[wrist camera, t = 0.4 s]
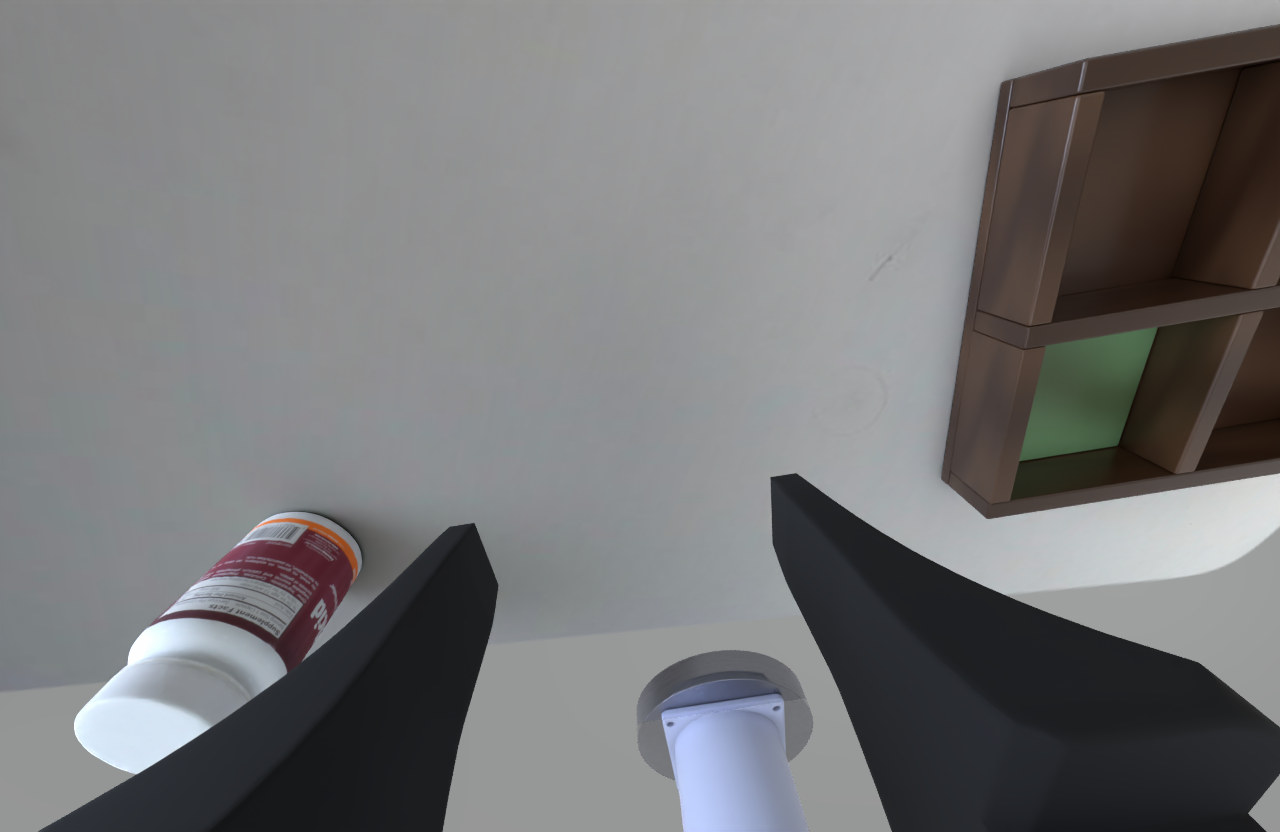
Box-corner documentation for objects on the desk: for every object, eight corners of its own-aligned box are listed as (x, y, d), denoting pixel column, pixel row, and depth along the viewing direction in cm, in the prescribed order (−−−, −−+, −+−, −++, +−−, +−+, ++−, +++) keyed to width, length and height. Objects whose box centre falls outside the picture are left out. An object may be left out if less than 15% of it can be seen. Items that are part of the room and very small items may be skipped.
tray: (1277, 425, 21) (1373, 459, 19) (940, 479, 22) (986, 520, 19) (1494, -6, 15) (1694, -51, 12) (1000, 82, 15) (1085, 58, 12)
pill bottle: (340, 602, 23) (207, 801, 16) (239, 558, 22) (39, 756, 14) (383, 540, 22) (260, 728, 14) (278, 490, 20) (77, 669, 13)
